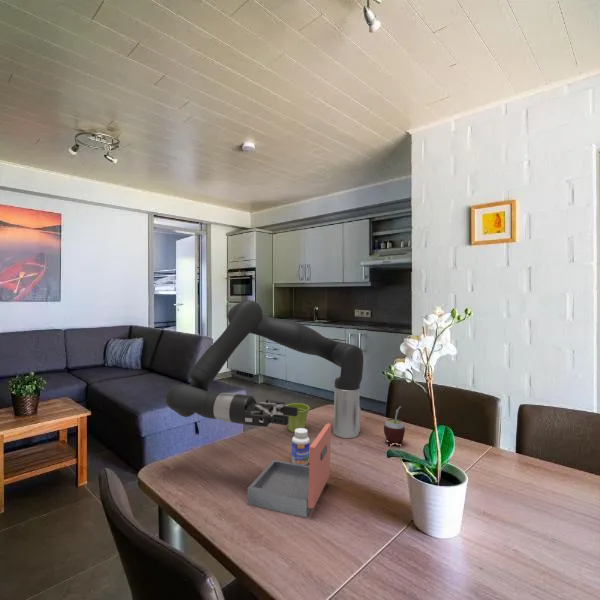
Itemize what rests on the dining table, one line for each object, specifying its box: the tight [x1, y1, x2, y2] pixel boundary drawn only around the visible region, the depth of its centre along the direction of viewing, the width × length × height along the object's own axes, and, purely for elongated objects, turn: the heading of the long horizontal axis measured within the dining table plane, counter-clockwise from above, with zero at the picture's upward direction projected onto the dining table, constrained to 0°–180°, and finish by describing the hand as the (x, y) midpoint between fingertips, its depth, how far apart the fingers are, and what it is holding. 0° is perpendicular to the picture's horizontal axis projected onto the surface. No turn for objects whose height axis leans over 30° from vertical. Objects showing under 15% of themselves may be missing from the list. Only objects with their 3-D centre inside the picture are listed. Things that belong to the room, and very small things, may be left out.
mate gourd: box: [383, 405, 406, 445], centre depth 124 cm, size 8×8×15 cm
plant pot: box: [285, 402, 311, 433], centre depth 135 cm, size 9×9×9 cm
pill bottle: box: [291, 428, 311, 466], centre depth 109 cm, size 5×5×10 cm
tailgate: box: [308, 423, 332, 509], centre depth 89 cm, size 2×16×14 cm, turn 162°
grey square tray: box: [247, 459, 312, 519], centre depth 92 cm, size 15×16×4 cm
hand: (292, 416), depth 92 cm, fingers open, 6 cm apart
